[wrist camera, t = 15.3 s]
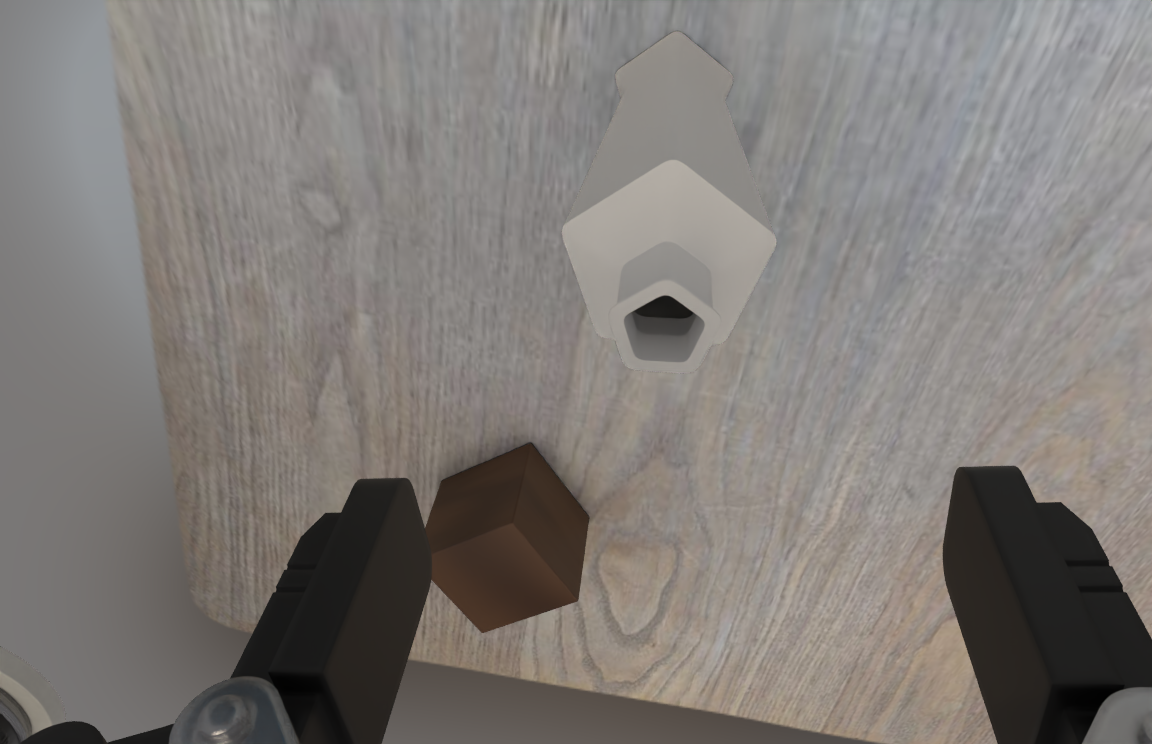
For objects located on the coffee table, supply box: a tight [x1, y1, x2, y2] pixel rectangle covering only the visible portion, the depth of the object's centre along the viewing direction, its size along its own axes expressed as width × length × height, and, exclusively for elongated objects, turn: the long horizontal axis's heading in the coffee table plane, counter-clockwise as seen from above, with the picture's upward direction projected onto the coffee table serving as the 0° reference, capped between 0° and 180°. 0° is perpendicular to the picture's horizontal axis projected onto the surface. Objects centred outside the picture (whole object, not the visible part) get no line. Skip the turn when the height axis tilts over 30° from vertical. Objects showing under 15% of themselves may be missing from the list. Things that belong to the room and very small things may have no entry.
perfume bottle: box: [562, 31, 777, 374], centre depth 23 cm, size 5×4×15 cm
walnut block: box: [425, 443, 589, 633], centre depth 38 cm, size 5×5×5 cm
